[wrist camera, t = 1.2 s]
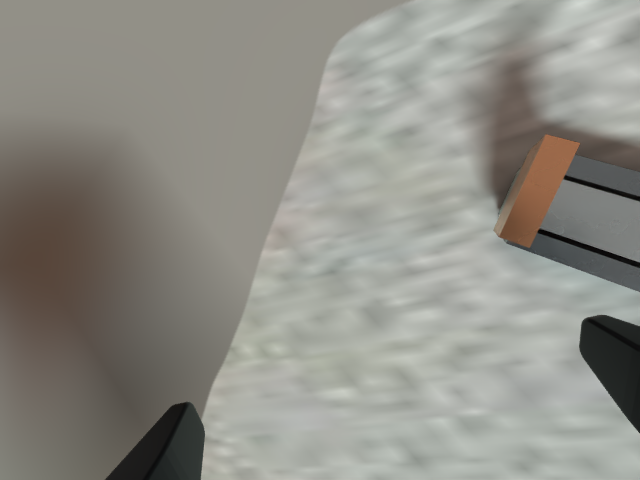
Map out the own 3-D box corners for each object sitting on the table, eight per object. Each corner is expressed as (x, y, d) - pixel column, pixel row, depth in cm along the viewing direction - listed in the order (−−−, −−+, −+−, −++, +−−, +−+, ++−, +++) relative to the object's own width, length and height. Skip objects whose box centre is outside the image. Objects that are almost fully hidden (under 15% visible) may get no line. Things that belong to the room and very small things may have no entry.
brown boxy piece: (718, 209, 20) (846, 211, 13) (670, 291, 21) (763, 332, 14) (525, 155, 23) (545, 134, 16) (491, 228, 24) (499, 236, 17)
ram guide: (698, 194, 20) (720, 193, 18) (643, 291, 21) (658, 298, 20) (544, 152, 23) (550, 147, 21) (503, 240, 24) (506, 243, 22)
